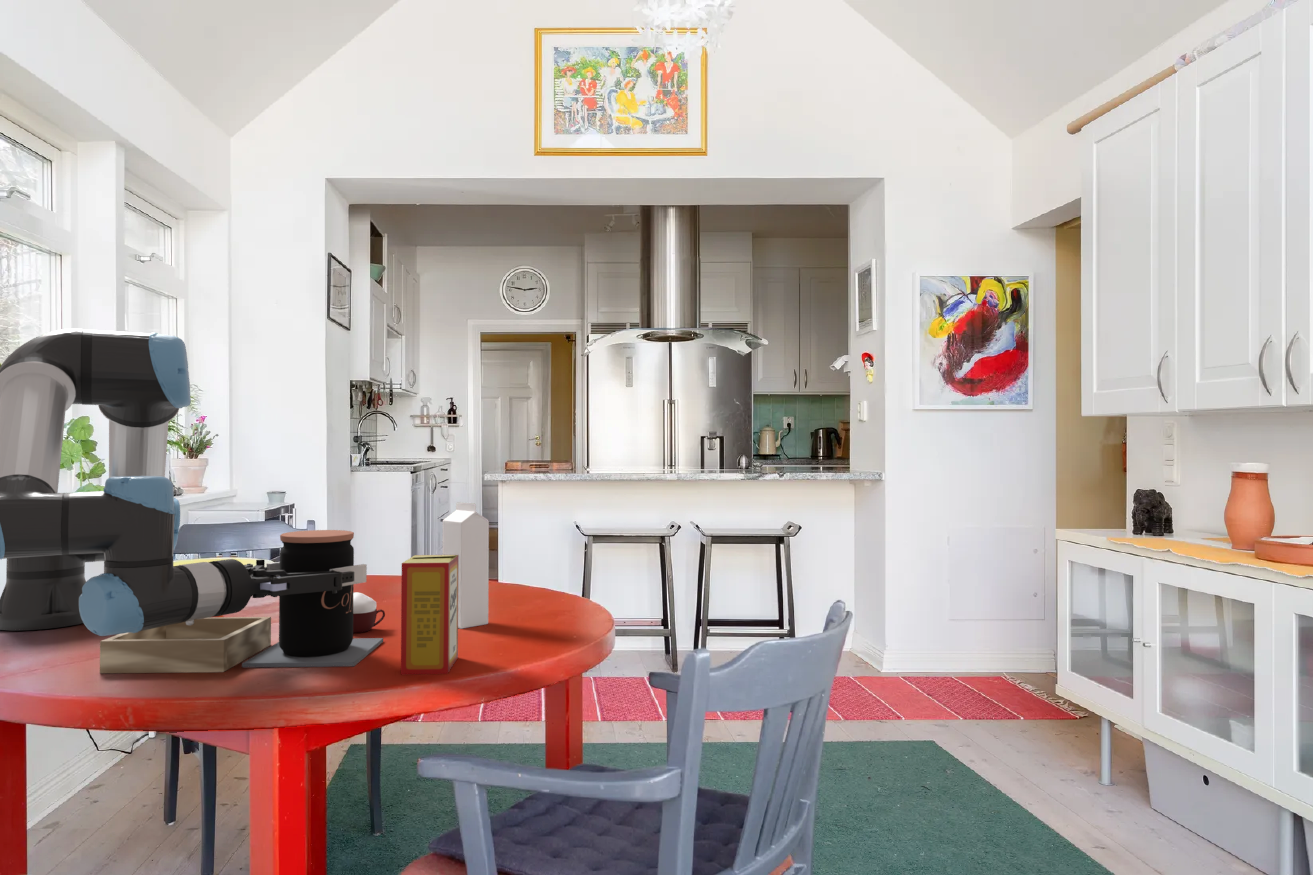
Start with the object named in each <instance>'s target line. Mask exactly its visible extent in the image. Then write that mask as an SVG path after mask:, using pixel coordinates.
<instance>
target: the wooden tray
mask: <svg viewBox="0 0 1313 875" xmlns="http://www.w3.org/2000/svg"><path fill="white" fill-rule="evenodd" d="M269 646H270V647H271V646H272V616H232V617H231V616H228V617H227V616H226V617H225V616H223V617H222V616H212V617H209V618H204V619H194V624H193V625H191V626H190V625H186V622H182V623H178V624H172V625H167V626H162V627H157V628H152V629H148V630H143V631H139V632H137V633H123V634H115V635H112V636H111V637H108V638H105V639H102V640H100V641H99V674H145V673H146V674H149V673H151V674H152V673H153V674H156V673H157V674H160V673H163V674H164V673H170V674H171V673H224V672H227V670H230V669H231V668H234V666H237V665H238V664H240V663H243V662H245V661H246V660H248V658H249V659H250V658H251V657H253V656H255V655H257V654H258V653H260V652H262V650H263V651H264V650H265V649H267V648H269Z"/></svg>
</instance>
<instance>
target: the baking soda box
mask: <svg viewBox="0 0 1313 875" xmlns="http://www.w3.org/2000/svg"><path fill="white" fill-rule="evenodd" d="M458 561H459V555H443V554H415V555H413V556H411V557H410V558H408V559H406V560H405V561H403V562H402V563H401V592H400V593H401V596H400V597H401V599H400V600H401V602H400V606H401V608H400V611H401V613H400V615H401V617H400V620H401V621H400V623H401V624H400V626H401V627H400V635H401V636H400V675H404V676H405V675H445V674H446V675H447V673H448V672H450V671H451V670H450V669H452V668H453V666H454V665H455V663H456V662H457V660H458V658H459V628H458ZM456 659H457V660H456ZM453 664H454V665H453ZM451 667H452V668H451ZM448 674H449V673H448Z"/></svg>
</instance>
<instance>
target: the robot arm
mask: <svg viewBox="0 0 1313 875" xmlns="http://www.w3.org/2000/svg"><path fill="white" fill-rule="evenodd" d="M186 347H187V346H186V343H185V342H184V341H183V339H181V338H179V337H178V336H175V335H171V334H162V333H158V332H151V333H148V332H133V331H131V332H130V331H115V330H100V329H99V330H98V329H85V328H84V329H83V328H72V327H71V328H64V329H57V330H54V331H49V332H45V333H43V334H41V335H38V336H36V337H34V338H32V339H30V340H28V341H27V342H25V343H23V344H21V345H20V346H19V347H17V348H16V349H15V350H14V351H12V353H10V354H9V355H8V356H7V357H6V358H5V360H4V361H2V363H1V365H0V560H2V559H3V560H4V559H6V579H5V580H6V581H5V586H4V587H3V590H2V592H1V595H0V631H13V632H14V631H36V630H38V631H39V630H49V629H57V628H65V627H71V626H75V625H80V624H84V626H85V628H86V629H87V630H89V631H90V632H91V633H92V634H95V635H97V636H99V637H107V636H115V635H118V634H123V633H137V632H139V631H143V630H148V629H152V628H157V627H162V626H167V625H172V624H178V623H182V622H186V625H190V626H191V625H193V624H194V619H204V618H209V617H222V616H226V615H231V614H236V613H239V612H241V611H242V610H243V609H244V608H246V606H247V605H248V604H249V602H250V600H251V598H252V599H264V598H265V597H267V596H268V597H269V596H270V597H272V598H277V597H279V596H283V595H289V594H300V593H311V592H322V591H332V594H334V593H337V591H339V590H341V589H342V586H347V585H353V584H354V585H357V584H363V583H367V573H368V572H367V569H368V567H367V565H368V564H364V563H362V564H356V565H354V566H348V567H341V568H335V569H330V571H320V572H300V573H286V571H285V570H280V561H277V562H275V561H274V562H268V563H266V562H265V559H256V561H255V565H254V564H252V563H247V564H243V563H242V562H241V561H239V560H237V559H233V558H229V559H221V560H220V559H219V560H211V561H199V562H195V563H194V562H192V563H184V564H179V565H174V551H175V550H176V547H177V544H178V539H179V530H180V525H181V505H180V504H181V503H180V501H179V500H178V498H176V497H175V496H174V494H175V493H174V484H173V482H172V481H171V480H170V479H169V478H168V477H166V467H167V464H166V463H167V450H168V436H169V423H170V421H172V420H173V419H175V417H176V416H177V415H178V413H179V410H180V409H182V408H187V407H189V406H190V405H191V386H190V385H191V384H190V372H189V363H188V353H187V348H186ZM72 405H84V406H85V405H86V406H87V405H88V406H89V405H90V406H91V405H92V406H98V410H99V411H100V412H101V415H103V417H105V418H106V419H107V420H108V478H107V479H106V480H105V483H104V488H103V489H102V490H97V491H77V492H76V491H75V492H58V491H59V482H60V470H61V461H62V451H63V450H62V449H63V442H64V441H63V440H64V439H63V438H64V428H65V420H66V418H65V417H66V412H67V411H68V410H69V409H70V408H71V407H72ZM95 562H103V573H100V574H98V575H95V576H92V577H90V578H89V579H87V581H86V576H85V575H86V574H85V573H86V572H85V568H86V567H85V566H86V563H95ZM265 563H266V566H265Z"/></svg>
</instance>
